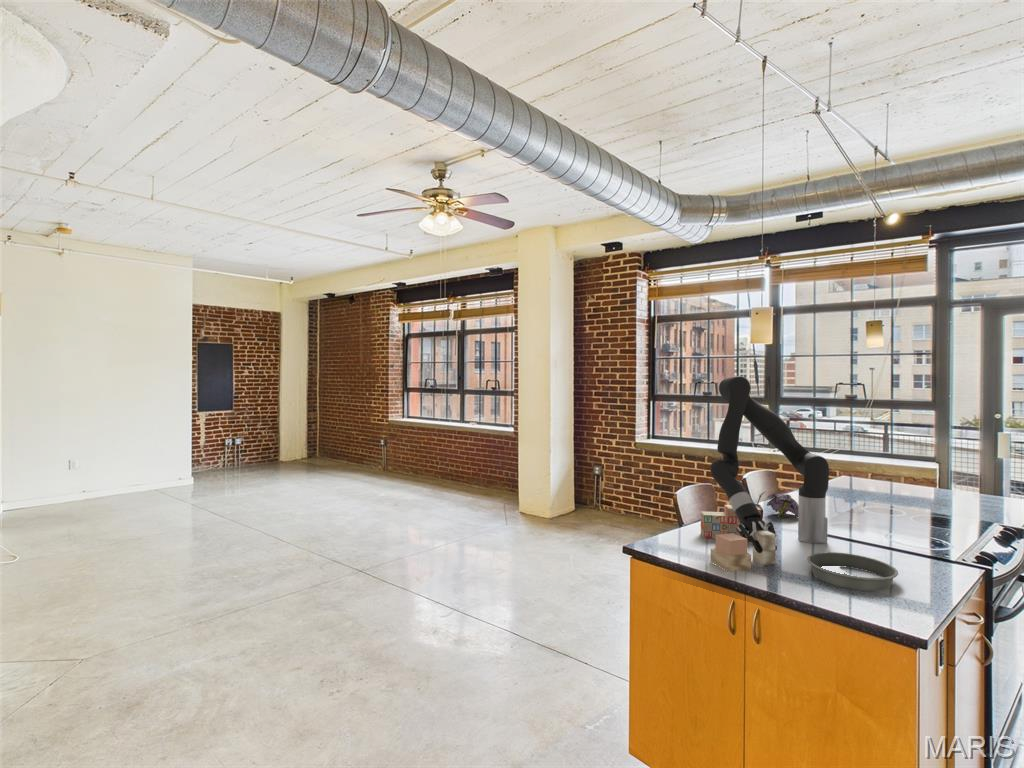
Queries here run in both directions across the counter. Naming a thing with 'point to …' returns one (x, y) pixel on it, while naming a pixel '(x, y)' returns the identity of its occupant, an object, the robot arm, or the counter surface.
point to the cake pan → (855, 562)
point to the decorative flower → (783, 504)
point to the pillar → (765, 548)
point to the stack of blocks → (720, 522)
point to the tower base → (731, 560)
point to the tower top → (731, 544)
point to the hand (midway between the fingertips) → (767, 551)
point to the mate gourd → (760, 505)
